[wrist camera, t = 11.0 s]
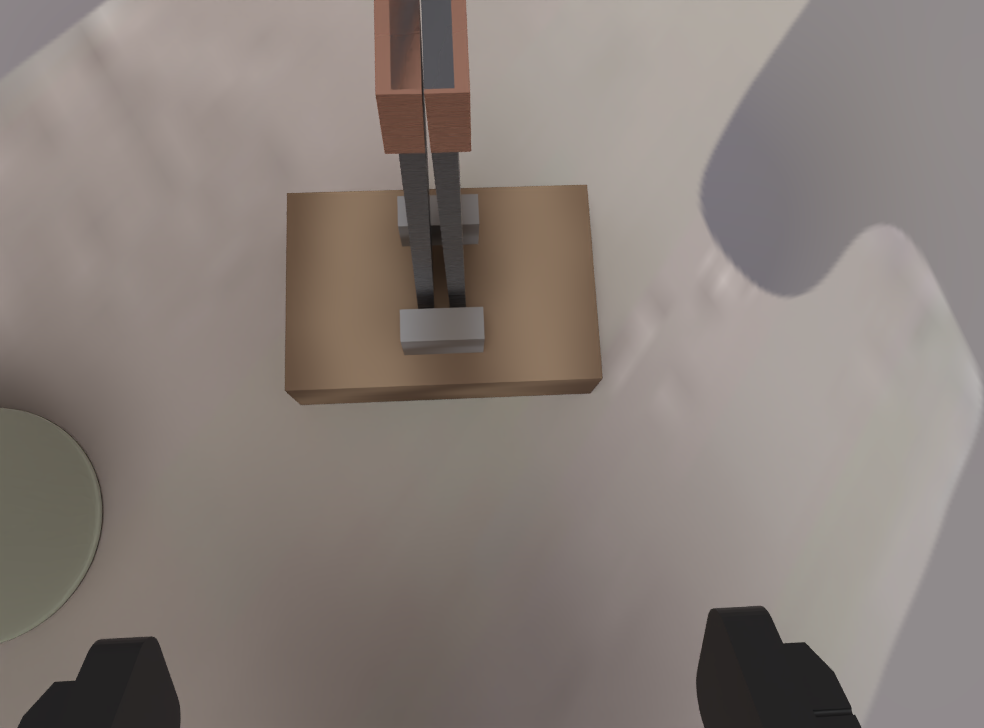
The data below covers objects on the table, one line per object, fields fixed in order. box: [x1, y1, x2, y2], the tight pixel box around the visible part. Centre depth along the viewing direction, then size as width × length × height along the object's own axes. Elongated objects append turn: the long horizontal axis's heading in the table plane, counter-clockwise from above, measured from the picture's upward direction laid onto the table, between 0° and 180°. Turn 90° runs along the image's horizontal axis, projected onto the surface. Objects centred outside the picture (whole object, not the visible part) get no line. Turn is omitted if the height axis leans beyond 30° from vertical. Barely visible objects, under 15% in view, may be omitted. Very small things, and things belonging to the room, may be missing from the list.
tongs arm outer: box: [421, 0, 471, 308], centre depth 23 cm, size 1×3×15 cm, turn 2°
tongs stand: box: [285, 185, 602, 405], centre depth 32 cm, size 12×8×5 cm, turn 93°
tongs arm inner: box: [374, 0, 434, 309], centre depth 23 cm, size 1×3×15 cm, turn 3°
